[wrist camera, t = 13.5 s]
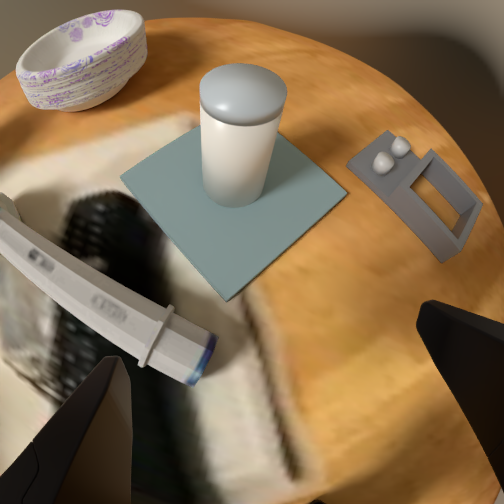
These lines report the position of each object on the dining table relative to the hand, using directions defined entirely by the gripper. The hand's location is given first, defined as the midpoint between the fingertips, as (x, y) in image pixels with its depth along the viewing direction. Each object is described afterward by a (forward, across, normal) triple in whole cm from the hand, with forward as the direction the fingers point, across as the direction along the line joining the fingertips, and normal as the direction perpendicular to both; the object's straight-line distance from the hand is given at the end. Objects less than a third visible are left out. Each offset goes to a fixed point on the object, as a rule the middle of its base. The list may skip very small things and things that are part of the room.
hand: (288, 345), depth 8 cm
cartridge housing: (+18, -19, +1) cm, 27 cm away
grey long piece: (+15, +13, +5) cm, 20 cm away
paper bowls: (+32, +14, -12) cm, 37 cm away
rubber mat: (+20, -1, 0) cm, 20 cm away
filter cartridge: (+19, -1, -1) cm, 19 cm away
